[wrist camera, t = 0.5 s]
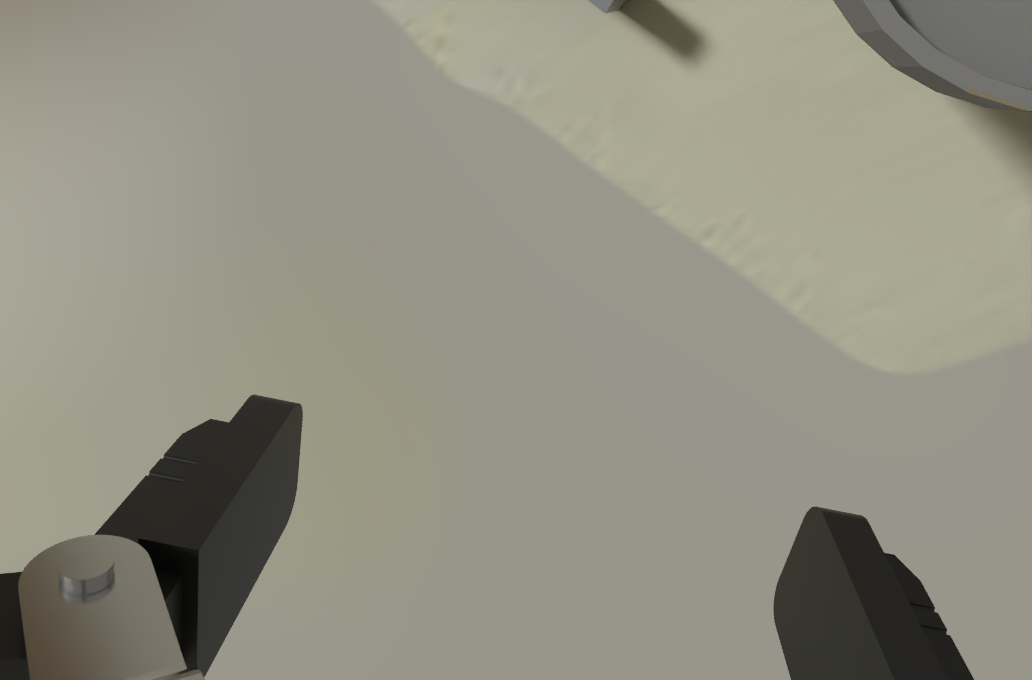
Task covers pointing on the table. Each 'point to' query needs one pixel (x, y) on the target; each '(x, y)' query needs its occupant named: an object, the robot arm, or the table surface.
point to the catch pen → (608, 5)
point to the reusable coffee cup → (953, 45)
